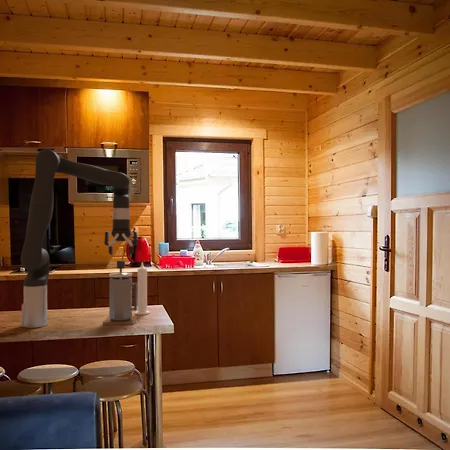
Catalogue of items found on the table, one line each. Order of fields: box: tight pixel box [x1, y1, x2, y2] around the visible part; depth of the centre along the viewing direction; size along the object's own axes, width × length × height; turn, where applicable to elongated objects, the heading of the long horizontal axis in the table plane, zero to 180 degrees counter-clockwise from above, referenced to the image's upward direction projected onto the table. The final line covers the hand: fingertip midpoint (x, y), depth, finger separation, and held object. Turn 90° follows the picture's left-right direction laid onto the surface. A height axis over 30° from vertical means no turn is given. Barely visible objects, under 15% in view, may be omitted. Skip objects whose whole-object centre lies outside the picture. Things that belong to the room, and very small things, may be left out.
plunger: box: [108, 260, 133, 279], centre depth 194 cm, size 10×10×24 cm
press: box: [102, 276, 139, 326], centre depth 194 cm, size 14×13×19 cm
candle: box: [134, 261, 151, 316], centre depth 212 cm, size 7×7×25 cm
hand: (121, 254), depth 194 cm, fingers open, 8 cm apart
